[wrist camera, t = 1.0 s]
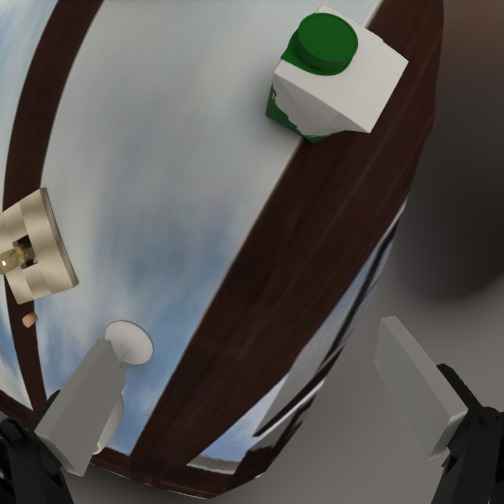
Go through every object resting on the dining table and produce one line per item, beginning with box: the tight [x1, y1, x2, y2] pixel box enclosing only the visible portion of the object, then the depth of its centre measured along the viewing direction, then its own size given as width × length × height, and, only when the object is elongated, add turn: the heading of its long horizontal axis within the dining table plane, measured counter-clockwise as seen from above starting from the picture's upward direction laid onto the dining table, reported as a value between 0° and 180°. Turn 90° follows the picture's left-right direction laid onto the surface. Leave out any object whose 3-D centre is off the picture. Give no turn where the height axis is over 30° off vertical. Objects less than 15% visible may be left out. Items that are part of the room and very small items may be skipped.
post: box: [0, 241, 36, 274], centre depth 35 cm, size 3×3×8 cm
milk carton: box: [266, 5, 408, 143], centre depth 24 cm, size 9×9×20 cm
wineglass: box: [93, 321, 153, 454], centre depth 33 cm, size 9×9×21 cm
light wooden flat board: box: [0, 188, 78, 304], centre depth 35 cm, size 16×24×6 cm, turn 106°
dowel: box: [23, 311, 37, 327], centre depth 41 cm, size 2×2×3 cm
